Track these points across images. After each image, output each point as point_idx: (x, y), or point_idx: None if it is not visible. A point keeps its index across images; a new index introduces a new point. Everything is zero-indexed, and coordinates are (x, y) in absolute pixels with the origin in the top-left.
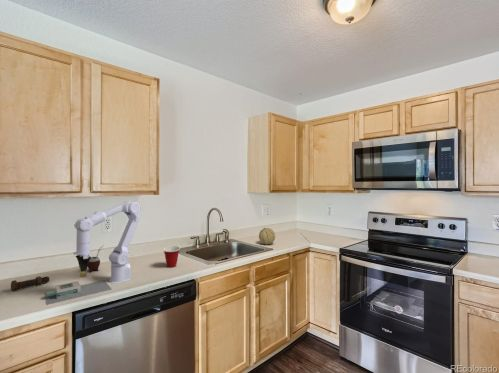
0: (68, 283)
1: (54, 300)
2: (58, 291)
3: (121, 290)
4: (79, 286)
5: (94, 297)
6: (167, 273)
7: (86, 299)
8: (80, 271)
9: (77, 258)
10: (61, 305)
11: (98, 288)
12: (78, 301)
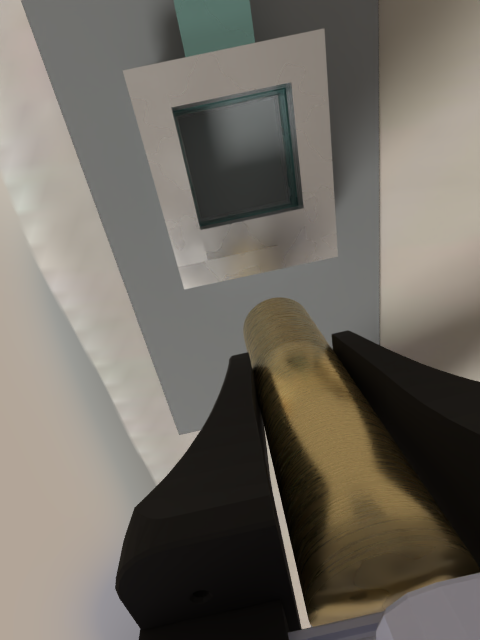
0: (313, 174)
1: (111, 72)
2: (130, 91)
3: (156, 469)
4: (182, 280)
5: (97, 352)
6: None
7: (77, 310)
8: (264, 340)
9: (168, 537)
10: (7, 147)
11: None
12: (55, 263)
